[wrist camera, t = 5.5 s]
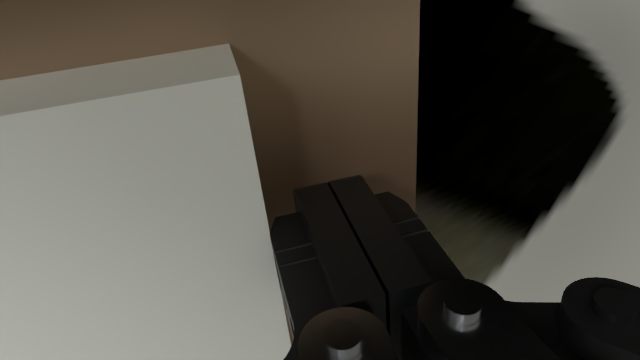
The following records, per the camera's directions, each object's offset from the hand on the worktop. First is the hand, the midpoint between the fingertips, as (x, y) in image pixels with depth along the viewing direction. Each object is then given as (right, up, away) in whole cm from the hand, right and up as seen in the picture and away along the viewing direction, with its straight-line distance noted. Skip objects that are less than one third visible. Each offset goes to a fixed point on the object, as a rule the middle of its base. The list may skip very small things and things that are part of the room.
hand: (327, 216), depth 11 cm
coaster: (-5, -1, 0) cm, 5 cm away
